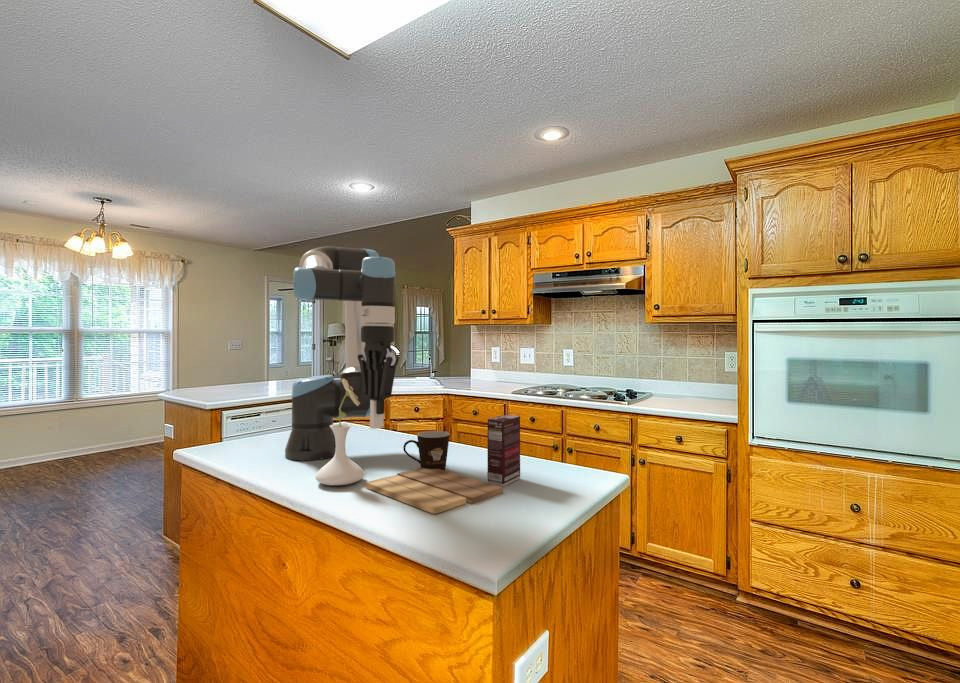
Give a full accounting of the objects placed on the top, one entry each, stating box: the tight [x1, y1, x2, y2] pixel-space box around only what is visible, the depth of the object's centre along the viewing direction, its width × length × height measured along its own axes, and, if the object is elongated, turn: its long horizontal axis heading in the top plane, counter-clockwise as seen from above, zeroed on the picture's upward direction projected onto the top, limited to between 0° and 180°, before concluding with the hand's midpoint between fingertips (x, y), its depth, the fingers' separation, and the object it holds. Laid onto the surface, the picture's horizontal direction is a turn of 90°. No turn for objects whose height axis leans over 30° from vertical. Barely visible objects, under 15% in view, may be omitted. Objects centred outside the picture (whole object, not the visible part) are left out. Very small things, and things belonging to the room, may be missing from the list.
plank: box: [364, 474, 467, 515], centre depth 105 cm, size 24×9×1 cm, turn 48°
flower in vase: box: [315, 378, 365, 486], centre depth 114 cm, size 13×11×25 cm
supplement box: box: [486, 414, 521, 488], centre depth 116 cm, size 9×5×16 cm, turn 146°
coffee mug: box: [403, 430, 451, 471], centre depth 125 cm, size 12×9×10 cm
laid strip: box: [396, 466, 504, 505], centre depth 112 cm, size 26×10×1 cm, turn 48°
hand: (376, 427), depth 108 cm, fingers closed
